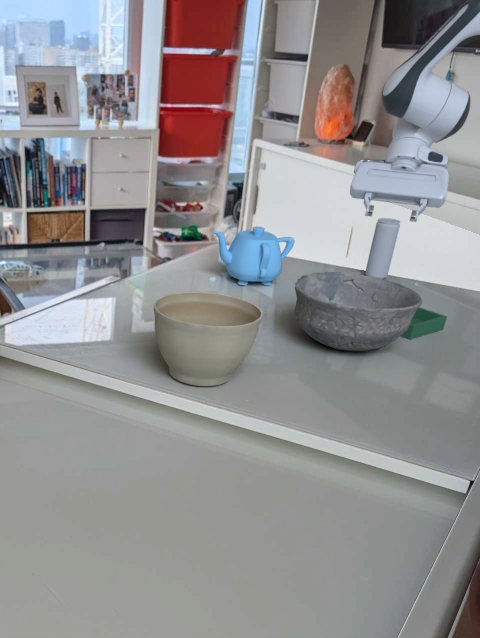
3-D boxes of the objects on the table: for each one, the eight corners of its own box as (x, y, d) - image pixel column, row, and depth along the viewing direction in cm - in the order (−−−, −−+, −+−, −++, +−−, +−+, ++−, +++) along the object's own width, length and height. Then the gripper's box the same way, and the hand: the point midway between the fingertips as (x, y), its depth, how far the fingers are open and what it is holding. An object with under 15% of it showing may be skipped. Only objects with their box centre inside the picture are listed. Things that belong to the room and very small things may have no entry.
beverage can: (364, 278, 166) (378, 221, 160) (363, 272, 170) (376, 216, 164) (387, 281, 166) (402, 223, 159) (386, 275, 170) (399, 219, 163)
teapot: (290, 284, 163) (301, 229, 157) (256, 294, 153) (266, 237, 148) (240, 271, 170) (249, 219, 164) (204, 281, 160) (212, 225, 154)
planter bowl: (269, 392, 114) (282, 322, 108) (170, 401, 110) (177, 329, 104) (225, 352, 127) (234, 288, 121) (134, 359, 123) (139, 293, 117)
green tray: (397, 313, 148) (400, 300, 146) (443, 329, 141) (447, 316, 139) (363, 322, 143) (366, 309, 141) (410, 339, 136) (413, 326, 134)
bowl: (433, 359, 128) (451, 301, 123) (338, 376, 120) (352, 315, 115) (350, 319, 144) (362, 266, 138) (261, 332, 136) (270, 276, 130)
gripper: (358, 148, 169) (343, 202, 166) (456, 157, 162) (441, 214, 160) (356, 167, 174) (341, 219, 172) (450, 176, 168) (436, 231, 166)
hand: (390, 217), depth 166 cm, fingers open, 8 cm apart
